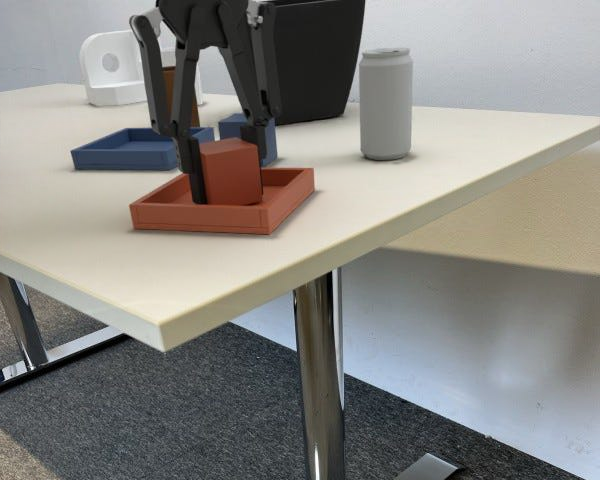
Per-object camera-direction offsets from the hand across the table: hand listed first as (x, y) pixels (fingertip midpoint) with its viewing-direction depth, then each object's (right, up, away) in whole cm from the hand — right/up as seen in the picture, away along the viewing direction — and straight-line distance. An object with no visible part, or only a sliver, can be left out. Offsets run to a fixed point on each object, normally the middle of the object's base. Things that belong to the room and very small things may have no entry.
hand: (228, 197), depth 68 cm
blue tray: (-14, +14, +24) cm, 31 cm away
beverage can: (+19, +10, +15) cm, 26 cm away
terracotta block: (0, 0, 0) cm, 0 cm away
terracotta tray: (0, -1, +1) cm, 1 cm away
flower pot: (+7, +27, +43) cm, 51 cm away
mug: (-13, +22, +38) cm, 46 cm away
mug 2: (-15, +37, +60) cm, 72 cm away
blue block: (+1, +10, +17) cm, 20 cm away
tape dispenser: (-29, +43, +72) cm, 89 cm away
